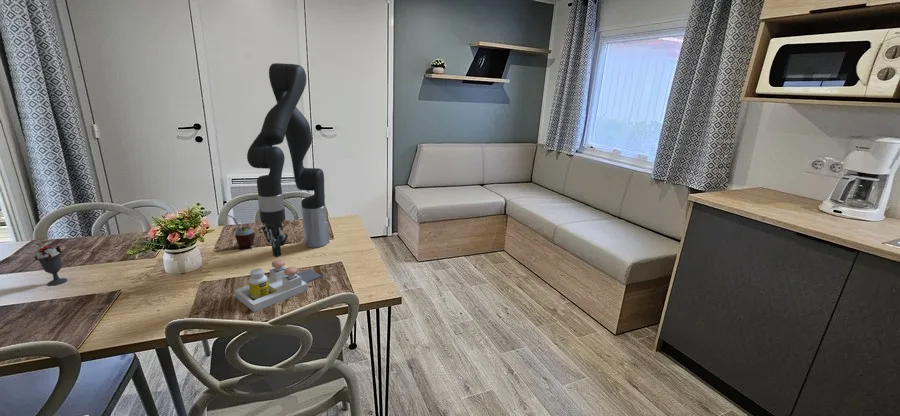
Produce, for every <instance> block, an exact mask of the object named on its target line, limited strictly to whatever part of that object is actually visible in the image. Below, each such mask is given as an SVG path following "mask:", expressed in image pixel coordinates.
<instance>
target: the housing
mask: <svg viewBox="0 0 900 416" xmlns="http://www.w3.org/2000/svg"><path fill="white" fill-rule="evenodd" d="M282 267H283V271H280V272H275V267H273V268H271V269H269V277H267V279H268V289H269V295H266V296H264V297H261V298H259V299H256V300H254V301H253V300H251V296H250V288H249V284H248V285H245V286H243V287H240V288H237V289H234V290H233V291H234V297H235V298H236V299H237V300H238V301H240V302H241V303H242V304H243V305H244V306H246V307H248V308H249V309H250V310H251V311H252V312H254V313H257V312H258V311H261V310H263V309H265V308H269V307H271V306H272V305H275V304H277V303H280V302H282V301H285V300H287V299H291V298H292V297H294V296H297V295H299V294H302V293H303V292H306V291H308V290H309V289H308V283H306V282H304V281H302V280H301V277H300V276H299V275H297V273H296V274H295V278H294V279H292V280H288V278H287V275H285V274H284V269H286V268H287V267H285V266H282Z"/></svg>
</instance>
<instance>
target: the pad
mask: <svg viewBox="0 0 900 416" xmlns="http://www.w3.org/2000/svg"><path fill="white" fill-rule="evenodd" d="M296 274H297V275H299V276H300V277H301V280H302V281H304V282H306V283H307V284H308V283H311V282H313V281H315V280H317V279H320V278H323V275H321V274H319V273H318V272H316V271H314V270H312V269H310V268H309V269H308V268H307V269H306V270H303V271H301V272H297V273H296Z"/></svg>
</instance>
